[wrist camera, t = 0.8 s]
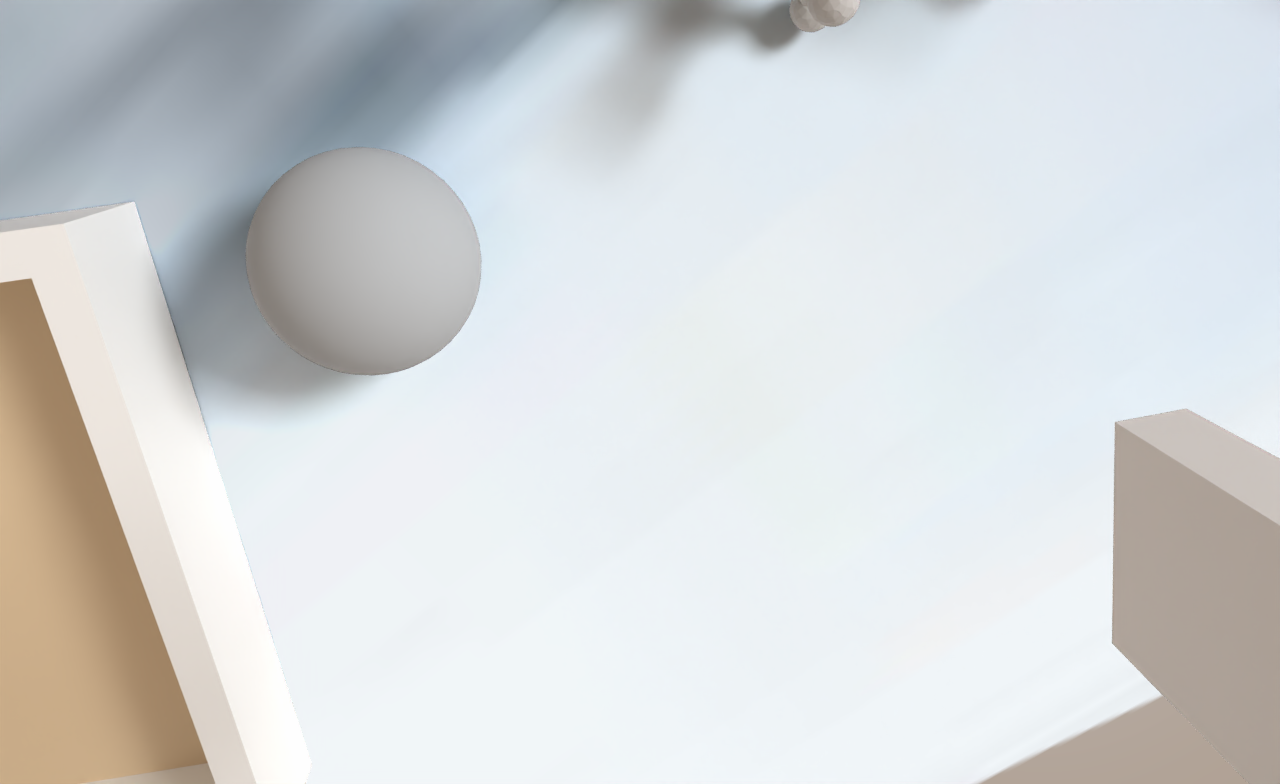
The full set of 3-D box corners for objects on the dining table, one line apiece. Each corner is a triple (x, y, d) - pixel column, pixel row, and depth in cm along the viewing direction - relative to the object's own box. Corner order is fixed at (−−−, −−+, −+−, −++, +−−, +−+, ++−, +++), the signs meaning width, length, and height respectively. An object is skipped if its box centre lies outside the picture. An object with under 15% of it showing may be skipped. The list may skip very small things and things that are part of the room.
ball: (259, 154, 26) (177, 178, 21) (468, 125, 26) (443, 140, 21) (311, 353, 28) (250, 424, 23) (505, 324, 28) (491, 387, 23)
